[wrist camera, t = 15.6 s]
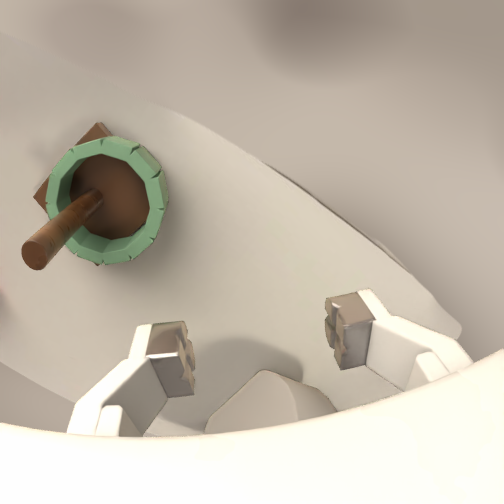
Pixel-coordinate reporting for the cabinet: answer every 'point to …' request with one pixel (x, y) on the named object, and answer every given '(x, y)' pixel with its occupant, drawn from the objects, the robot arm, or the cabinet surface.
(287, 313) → the cabinet surface
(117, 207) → the stand
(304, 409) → the alarm clock
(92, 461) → the robot arm
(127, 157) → the ring
